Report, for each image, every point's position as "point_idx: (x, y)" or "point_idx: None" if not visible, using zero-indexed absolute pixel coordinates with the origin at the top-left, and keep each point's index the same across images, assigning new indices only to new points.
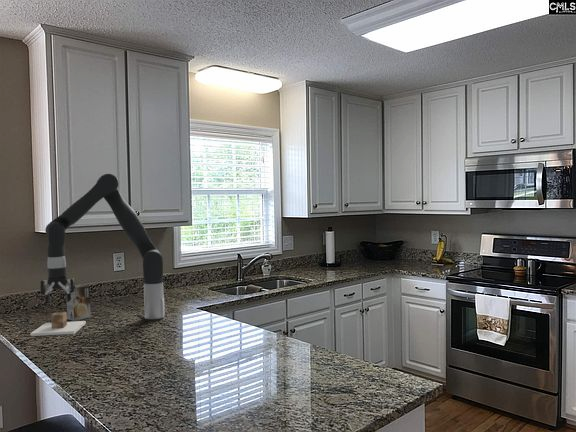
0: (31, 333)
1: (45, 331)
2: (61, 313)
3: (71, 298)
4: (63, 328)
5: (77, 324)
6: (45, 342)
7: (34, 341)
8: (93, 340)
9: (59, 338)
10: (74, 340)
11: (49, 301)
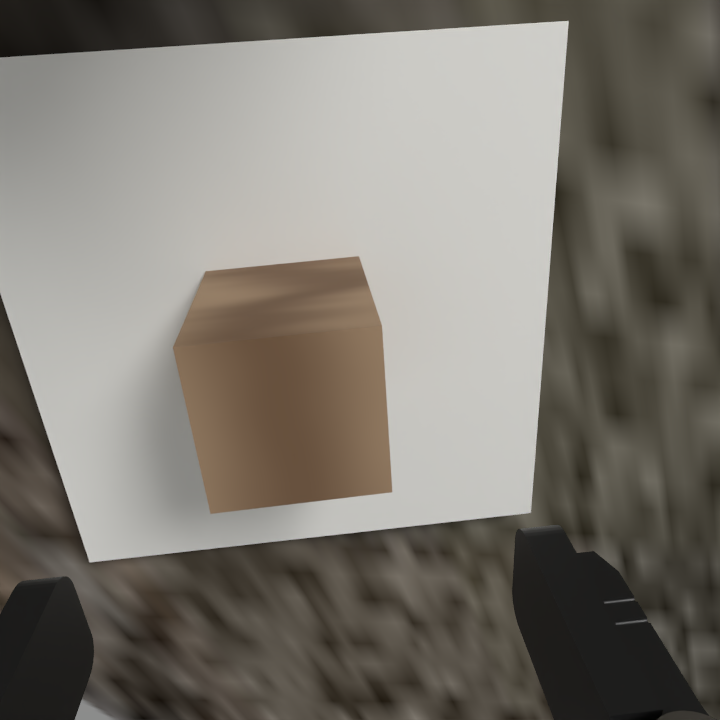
0: (102, 560)
1: None
2: (331, 416)
3: (621, 579)
4: None
5: (495, 241)
6: (353, 688)
7: (244, 667)
8: (713, 655)
9: (428, 607)
10: None
11: (71, 641)
